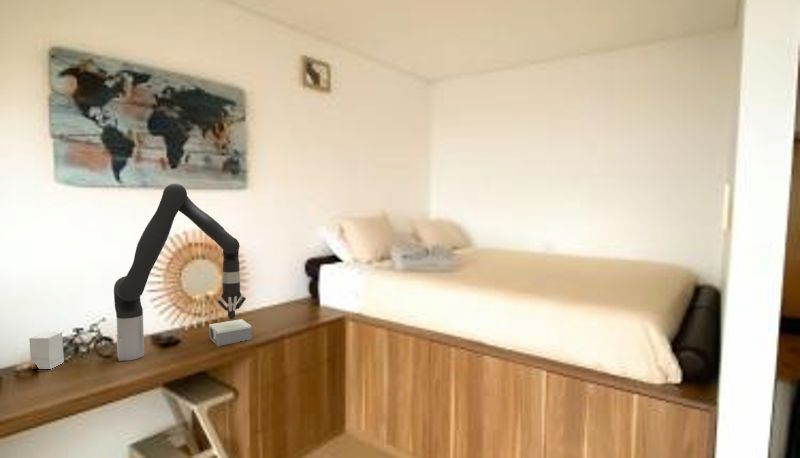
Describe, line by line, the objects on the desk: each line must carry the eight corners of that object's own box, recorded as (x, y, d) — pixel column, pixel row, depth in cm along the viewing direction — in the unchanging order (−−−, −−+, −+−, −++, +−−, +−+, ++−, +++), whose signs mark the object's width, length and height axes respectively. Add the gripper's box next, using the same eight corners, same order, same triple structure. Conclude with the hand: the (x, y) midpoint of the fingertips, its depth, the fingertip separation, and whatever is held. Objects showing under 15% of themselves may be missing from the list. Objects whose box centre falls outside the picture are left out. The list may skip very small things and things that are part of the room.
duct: (217, 346, 194) (217, 334, 194) (209, 338, 205) (209, 326, 204) (251, 339, 203) (251, 328, 203) (242, 332, 214) (241, 321, 214)
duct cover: (217, 333, 194) (217, 331, 194) (209, 326, 204) (209, 324, 204) (251, 327, 203) (251, 325, 203) (241, 321, 214) (241, 319, 214)
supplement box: (64, 363, 173) (63, 331, 173) (49, 370, 166) (48, 338, 165) (46, 363, 173) (44, 331, 173) (30, 370, 166) (28, 337, 165)
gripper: (218, 284, 193) (218, 322, 194) (248, 281, 201) (248, 318, 202) (213, 281, 199) (214, 319, 200) (243, 278, 207) (243, 314, 208)
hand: (231, 318), depth 201 cm, fingers closed
